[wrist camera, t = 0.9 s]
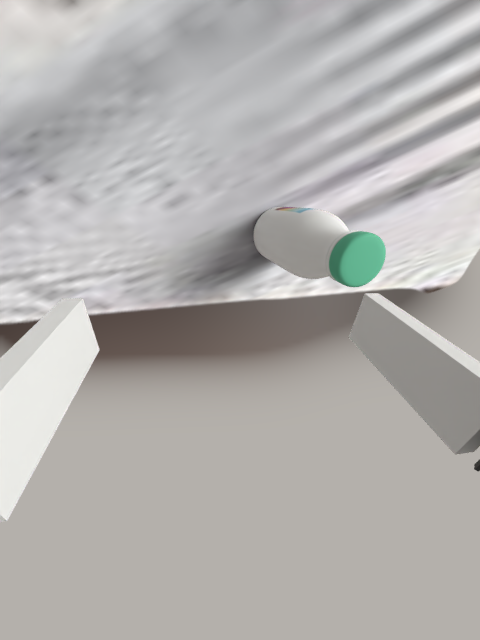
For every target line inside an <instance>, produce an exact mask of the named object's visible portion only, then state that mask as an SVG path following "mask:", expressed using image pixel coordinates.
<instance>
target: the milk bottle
mask: <svg viewBox="0 0 480 640" xmlns="http://www.w3.org/2000/svg"><path fill="white" fill-rule="evenodd" d="M253 237H254V243H255V246H256V248H257V250H258V251H259V253H260V254H261V255H263V256H264V257H265V258H267V259H269V260H270V261H272V262H273V263H275V264H277V265H278V266H280V267H282V268H283V269H285V270H287V271H288V272H290V273H292V274H294V275H296V276H299V277H302V278H308V279H319V278H324V277H327V276H330V277H331V278H332V279H333V280H335V281H338V282H339V283H341V284H343V285H346V286H349V287H359V286H363V285H365V284H367V283H368V282H370V281H371V280H372V279H373V278H374V277H375V276H376V275H377V274H378V273H379V271H380V270H381V268H382V266H383V263H384V260H385V253H386V251H385V245H384V243H383V241H382V240H381V238H380V237H378V236H377V235H375V234H373V233H369V232H362V231H356V230H352V231H349V230H348V228H347V227H346V225H345V224H344V223H343V222H342V221H341V220H340V219H339V218H338V217H337V216H335V215H333V214H332V213H329V212H326V211H323V210H318V209H310V208H295V207H275V208H271V209H269V210H267V211H266V212H264V213H263V214H262V215H261V216H260V218H259V219H258V221H257V223H256V225H255V228H254V236H253Z"/></svg>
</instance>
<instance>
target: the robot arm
mask: <svg viewBox="0 0 480 640" xmlns="http://www.w3.org/2000/svg"><path fill="white" fill-rule="evenodd" d="M349 338H350V340H351V341H352V342H353V343H354V344H355V345H356V346H357V347H358V348H359V349H360V350H361V352H362V353H363V354H364V355H365V356H366V357H367V358H368V359H369V360H370V361H371V363H372V364H373V365H374V366H375V367H376V368H377V369H378V370H379V371H380V372H381V374H382V375H383V376H384V377H385V378H386V379H387V380H388V381H389V382H390V384H391V385H392V386H393V387H394V388H395V389H396V390H397V391H398V392H399V393H400V394H401V395H402V397H403V398H404V399H405V400H406V401H407V402H408V403H409V404H410V405H411V407H412V408H413V409H414V410H415V411H416V412H417V413H418V414H419V415H420V416H421V417H422V418H423V420H424V421H425V422H426V423H427V424H428V425H429V426H430V427H431V429H432V430H433V431H434V432H435V433H436V434H437V435H438V436H439V437H440V438H441V440H442V441H443V442H444V443H445V444H446V445H447V446H448V447H449V448H450V449H451V451H452V452H453V453H454V454H461V453H468V452H474V451H475V450H476V449H477V448H478V447H479V446H480V362H479V361H477V360H476V359H474V358H473V357H471V356H470V355H468V354H467V353H465V352H464V351H463V350H461V349H460V348H458V347H457V346H455V345H454V344H452V343H451V342H449V341H448V340H446V339H445V338H443V337H442V336H440V335H439V334H437V333H436V332H435V331H433V330H431V329H430V328H428V327H427V326H426V325H424V324H423V323H421V322H420V321H418V320H417V319H415V318H414V317H412V316H411V315H409V314H408V313H406V312H405V311H404V310H402V309H401V308H399V307H398V306H396V305H395V304H393V303H391V302H390V301H389V300H387V299H386V298H384V297H383V296H381V295H380V294H377V293H376V294H365V295H364V298H363V300H362V303H361V306H360V308H359V311H358V314H357V317H356V319H355V322H354V325H353V327H352V330H351V333H350V336H349ZM98 352H99V347H98V344H97V341H96V338H95V335H94V332H93V329H92V326H91V322H90V319H89V316H88V313H87V310H86V307H85V304H84V301H83V298H75V299H62V300H61V301H59V302H58V303H57V304H56V305H55V306H54V307H53V308H52V309H51V310H50V311H49V312H48V313H47V314H46V315H45V316H44V317H43V318H42V319H41V320H40V321H39V322H38V323H37V324H35V325H34V326H33V327H32V329H30V330H29V331H28V332H27V333H26V334H25V335H24V336H23V337H22V338H21V339H20V340H19V341H18V342H17V343H16V344H15V345H14V346H13V347H12V348H10V349H9V351H8V352H6V353H5V354H4V355H3V356H2V357H1V358H0V522H3V521H7V520H8V518H9V516H10V514H11V513H12V511H13V509H14V507H15V505H16V503H17V502H18V500H19V498H20V496H21V494H22V492H23V491H24V489H25V487H26V485H27V483H28V481H29V479H30V477H31V476H32V474H33V472H34V470H35V468H36V466H37V465H38V463H39V461H40V459H41V457H42V455H43V453H44V452H45V450H46V448H47V446H48V444H49V442H50V440H51V438H52V437H53V435H54V433H55V431H56V429H57V428H58V426H59V424H60V422H61V420H62V418H63V416H64V415H65V413H66V411H67V409H68V407H69V405H70V403H71V402H72V400H73V398H74V396H75V394H76V392H77V390H78V389H79V387H80V385H81V383H82V381H83V379H84V377H85V376H86V374H87V372H88V370H89V368H90V366H91V365H92V363H93V361H94V359H95V357H96V355H97V353H98ZM474 469H475V470H477V471H480V460H479V461H478V462H477V463H476V464H475V468H474Z"/></svg>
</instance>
